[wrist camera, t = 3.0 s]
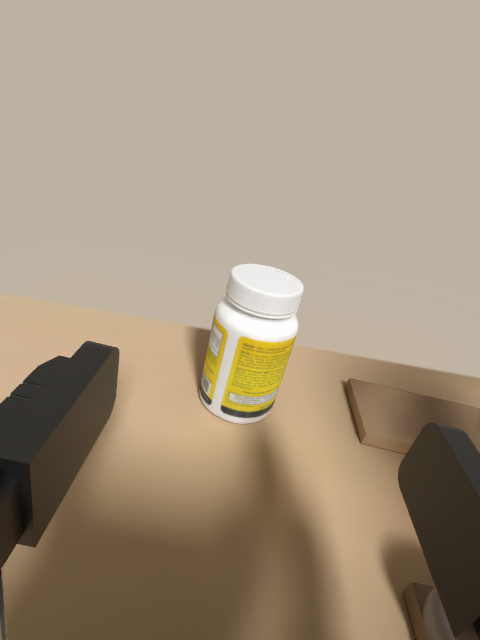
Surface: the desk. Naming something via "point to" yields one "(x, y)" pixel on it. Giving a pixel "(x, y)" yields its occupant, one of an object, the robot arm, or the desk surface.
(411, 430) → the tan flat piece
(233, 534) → the desk surface
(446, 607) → the robot arm
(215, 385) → the supplement bottle
